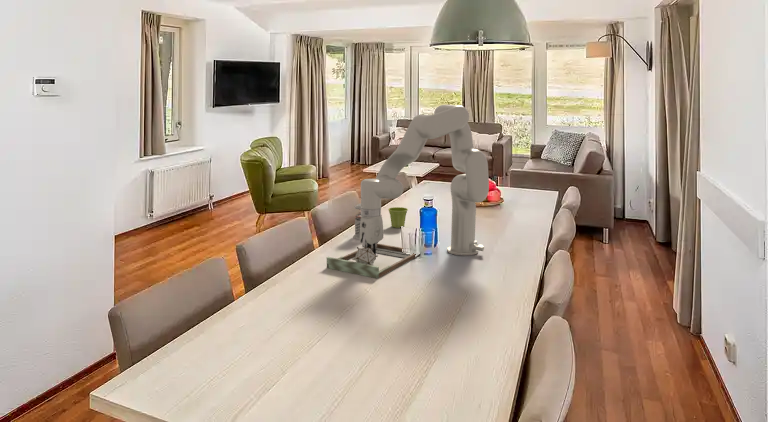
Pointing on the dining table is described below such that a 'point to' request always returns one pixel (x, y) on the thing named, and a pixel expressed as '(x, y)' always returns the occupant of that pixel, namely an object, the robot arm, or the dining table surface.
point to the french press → (357, 223)
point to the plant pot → (397, 216)
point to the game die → (365, 256)
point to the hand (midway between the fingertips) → (371, 259)
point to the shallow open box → (366, 269)
